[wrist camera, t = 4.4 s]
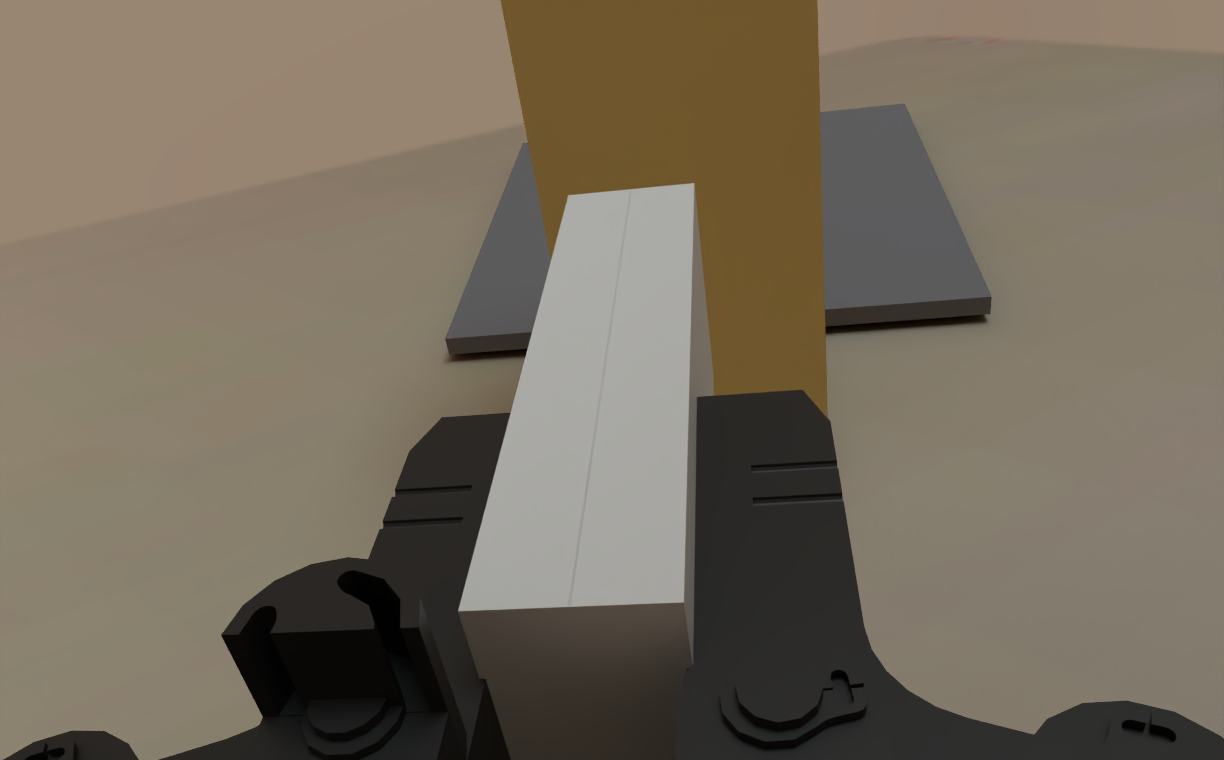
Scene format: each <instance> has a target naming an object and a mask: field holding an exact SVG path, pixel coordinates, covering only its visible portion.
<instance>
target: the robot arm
mask: <svg viewBox="0 0 1224 760" xmlns="http://www.w3.org/2000/svg"><path fill="white" fill-rule="evenodd" d="M221 636H222V638H223V640H224V642H225V644H226V646H227V648H228V650H229V651H230V653H231V655H232V657H233V659H234V661H235V663H236V665H237V667H238V669H239V671H240V673H241V675H242V677H243V679H244V681H245V683H246V685H247V687H248V689H249V691H250V693H251V694H252V696H253V698H254V700H255V702H256V704H257V706H258V708H259V710H260V712H261V714H262V716H263V718H262V721H261V723H260V725H259V726H257V727H255V728H253V729H250V730H248V731H245V732H243V733H240V734H238V735H235V736H233V737H230V738H228V739H225V740H221V741H218V742H215V743H212V744H209V745H205V746H202V747H199V748H196V749H192V750H189V751H186V752H183V753H179V754H176V755H173V756H170V757H166V758H163V759H160V760H1224V739H1223V738H1222V737H1221V736H1219V735H1218V734H1216V733H1214V732H1212V731H1210V730H1208V729H1206V728H1204V727H1202V726H1201V725H1199V724H1197V723H1195V722H1193V721H1191V720H1189V719H1187V718H1185V717H1183V716H1182V715H1180V714H1178V713H1176V712H1173V711H1169V710H1164V709H1160V708H1156V707H1151V706H1147V705H1143V704H1139V703H1134V702H1130V701H1113V702H1095V703H1082V704H1080V705H1077V706H1075V707H1073V708H1071V709H1068V710H1066V711H1064V712H1062V713H1059V714H1057V715H1055V716H1053V717H1051V718H1048V719H1047V720H1046V721H1045V722H1044V723H1043V725H1042V726H1041V727H1040V728H1039V730H1038V731H1037V732H1036V733H1035V735H1033V734H1029V733H1025V732H1021V731H1017V730H1013V729H1009V728H1005V727H1001V726H997V725H993V724H989V723H985V722H981V721H977V720H973V719H969V718H966V717H963V716H961V715H958V714H955V713H952V712H949V711H946V710H944V709H941V708H938V707H935V706H934V705H932V704H930V703H928V702H927V701H925V700H923V699H922V698H920V697H918V696H916V695H915V694H913V693H911V692H910V691H908V690H907V689H906V688H905V687H904V686H902V685H901V684H900V683H899V682H898V681H897V680H896V679H895V678H894V677H893V676H891V675H890V674H889V673H888V672H887V671H886V670H885V668H884V667H883V665H882V664H881V662H880V661H879V659H878V658H877V656H876V655H875V654H874V652H873V651H872V649H871V646H870V643H869V640H868V637H867V634H866V631H865V628H864V623H863V617H862V611H861V605H860V599H859V593H858V586H857V580H856V574H855V568H854V562H853V556H852V550H851V544H850V538H849V532H848V526H847V520H846V514H845V508H844V501H843V499H842V489H841V483H840V477H839V471H838V468H837V459H836V453H835V447H834V441H833V435H832V429H831V423H830V420H829V419H828V418H827V417H826V416H825V415H824V414H823V412H822V411H821V410H820V409H819V408H818V407H817V406H816V405H815V403H814V402H813V401H812V400H811V399H810V398H809V397H808V395H807V394H806V393H805V392H804V391H803V390H790V391H775V392H760V393H746V394H731V395H716V396H714V379H713V366H712V356H711V346H710V336H709V326H708V315H707V305H706V295H705V285H704V275H703V265H702V255H701V245H700V235H699V225H698V215H697V205H696V195H695V185H694V183H690V184H680V185H669V186H659V187H649V188H639V189H628V190H618V191H608V192H597V193H587V194H577V195H568V199H567V203H566V206H565V210H564V214H563V218H562V221H561V225H560V229H559V233H558V236H557V240H556V244H555V248H554V252H553V255H552V259H551V263H550V267H549V270H548V274H547V278H546V282H545V285H544V289H543V293H542V297H541V301H540V304H539V308H538V312H537V316H536V319H535V323H534V327H533V331H532V334H531V338H530V342H529V346H528V350H527V353H526V357H525V361H524V365H523V368H522V372H521V376H520V380H519V383H518V387H517V391H516V395H515V399H514V402H513V406H512V410H511V413H502V414H487V415H472V416H457V417H442V418H441V419H440V420H439V421H438V422H437V423H436V424H435V425H434V426H433V427H432V429H431V430H430V431H429V432H428V433H427V434H426V435H425V436H424V437H423V438H422V439H421V440H420V441H419V442H418V443H417V444H416V445H415V446H414V447H413V448H412V449H411V450H410V451H409V454H408V457H407V459H406V462H405V464H404V467H403V470H402V472H401V475H400V478H399V480H398V483H397V485H396V488H395V497H392V498H391V501H390V504H389V506H388V509H387V512H386V514H385V517H384V519H383V529H380V530H379V532H378V535H377V538H376V540H375V543H374V546H373V548H372V551H371V553H370V556H369V559H359V558H350V557H347V558H342V559H337V560H331V561H326V562H321V563H315V564H311V565H308V566H306V567H304V568H302V569H300V570H297V571H295V572H293V573H291V574H289V575H286V576H284V577H282V578H280V579H278V580H275V581H274V582H272V583H271V584H270V585H269V586H267V587H266V588H265V589H263V590H262V591H261V592H260V593H258V594H257V595H256V596H254V597H253V598H252V599H251V600H249V601H248V602H247V603H245V604H244V605H243V606H242V607H241V609H240V610H239V611H238V613H237V614H236V616H235V617H234V618H233V620H232V621H231V622H230V624H229V625H228V626H227V628H226V629H225V631H224V632H223V633H222V635H221ZM4 760H138V758H137V756H136V755H135V753H134V752H133V750H132V749H131V747H130V746H129V744H128V743H126V742H124V741H122V740H120V739H118V738H117V737H115V736H113V735H111V734H109V733H107V732H105V731H69V732H66V733H63V734H59V735H56V736H53V737H50V738H46V739H43V740H40V741H36V742H33V743H32V744H30V745H28V746H26V747H25V748H23V749H21V750H20V751H18V752H16V753H14V754H13V755H11V756H9V757H7V758H6V759H4Z"/></svg>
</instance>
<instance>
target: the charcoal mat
mask: <svg viewBox="0 0 1224 760" xmlns="http://www.w3.org/2000/svg"><path fill="white" fill-rule="evenodd" d="M820 132H821V172H822V213H823V254H824V294H825V326H837V325H850V324H863V323H877V322H890V321H904V320H917V319H930V318H944V317H957V316H970V315H984V314H990V309H991V295H990V292H989V290H988V288H987V286H986V283H985V281H984V279H983V277H982V275H981V272H980V270H979V268H978V266H977V263H976V261H975V259H974V257H973V255H972V252H971V250H970V248H969V246H968V243H967V241H966V239H965V237H964V235H963V232H962V230H961V228H960V226H959V223H958V221H957V219H956V217H955V215H954V212H953V210H952V208H951V206H950V203H949V201H948V199H947V197H946V195H945V192H944V190H943V188H942V186H941V183H940V181H939V179H938V177H937V175H936V172H935V170H934V168H933V166H932V163H931V161H930V159H929V157H928V155H927V152H926V150H925V148H924V146H923V143H922V141H921V139H920V137H919V135H918V132H917V130H916V128H915V126H914V124H913V121H912V119H911V117H910V115H909V112H908V110H907V108H906V106H905V104H896V105H886V106H877V107H867V108H858V109H848V110H838V111H829V112H820ZM550 263H551V260H550V254H549V249H548V244H547V239H546V233H545V228H544V223H543V218H542V213H541V207H540V202H539V197H538V192H537V187H536V181H535V176H534V171H533V166H532V161H531V155H530V150H529V145H528V143H523V145H522V147H521V150H520V152H519V155H518V157H517V160H516V162H515V165H514V167H513V170H512V172H511V175H510V177H509V180H508V182H507V185H506V187H505V190H504V192H503V195H502V197H501V200H500V202H499V205H498V207H497V210H496V212H495V215H494V217H493V220H492V223H491V225H490V228H489V230H488V233H487V235H486V238H485V240H484V243H483V245H482V248H481V250H480V253H479V255H478V258H477V260H476V263H475V265H474V268H473V270H472V273H471V275H470V278H469V280H468V283H467V285H466V288H465V290H464V293H463V295H462V298H461V300H460V303H459V306H458V308H457V311H456V313H455V316H454V318H453V321H452V323H451V326H450V328H449V331H448V333H447V336H446V338H445V340H446V343H447V347H448V351H449V354H462V353H475V352H489V351H502V350H515V349H528V346H529V342H530V338H531V334H532V331H533V327H534V323H535V319H536V316H537V312H538V308H539V304H540V301H541V297H542V293H543V289H544V285H545V282H546V278H547V274H548V270H549V267H550Z"/></svg>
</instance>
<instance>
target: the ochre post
mask: <svg viewBox="0 0 1224 760" xmlns="http://www.w3.org/2000/svg"><path fill="white" fill-rule="evenodd" d="M501 4H502V9H503V15H504V20H505V25H506V30H507V36H508V41H509V46H510V51H511V56H512V62H513V67H514V72H515V77H516V82H517V88H518V93H519V98H520V103H521V108H522V114H523V119H524V124H525V129H526V135H527V140H528V145H529V150H530V155H531V161H532V166H533V171H534V176H535V181H536V187H537V192H538V197H539V202H540V207H541V213H542V218H543V223H544V228H545V233H546V239H547V244H548V249H549V254H550V260H551V259H552V255H553V252H554V248H555V244H556V240H557V236H558V233H559V229H560V225H561V221H562V218H563V214H564V210H565V206H566V203H567V199H568V195H577V194H587V193H597V192H608V191H618V190H628V189H639V188H649V187H659V186H669V185H680V184H690V183H694V185H695V195H696V205H697V215H698V225H699V235H700V245H701V255H702V265H703V275H704V285H705V295H706V305H707V315H708V326H709V336H710V346H711V356H712V366H713V379H714V396H716V395H731V394H746V393H760V392H775V391H790V390H803V391H804V392H805V393H806V394H807V395H808V397H809V398H810V399H811V400H812V401H813V402H814V403H815V405H816V406H817V407H818V408H819V409H820V410H821V411H822V412H823V414H824V415H825V416H826V417H827V418H828V416H827V376H826V335H825V294H824V254H823V213H822V172H821V132H820V91H819V51H818V10H817V0H501Z"/></svg>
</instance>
